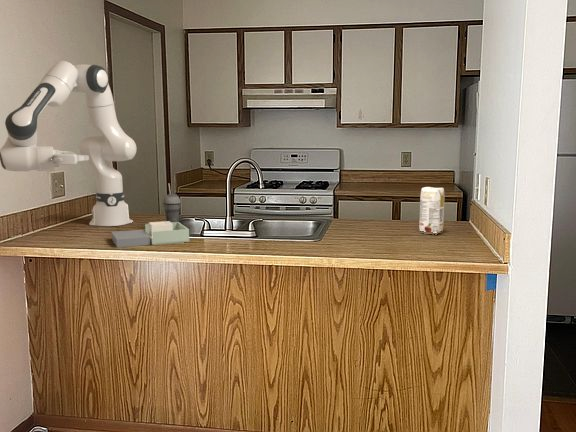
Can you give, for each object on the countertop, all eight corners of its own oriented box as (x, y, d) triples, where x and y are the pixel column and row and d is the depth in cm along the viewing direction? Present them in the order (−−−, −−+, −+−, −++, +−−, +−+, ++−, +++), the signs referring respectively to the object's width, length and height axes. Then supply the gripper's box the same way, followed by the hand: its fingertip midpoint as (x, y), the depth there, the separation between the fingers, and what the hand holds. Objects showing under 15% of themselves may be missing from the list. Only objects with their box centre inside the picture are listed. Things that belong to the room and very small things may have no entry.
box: (143, 236, 235) (143, 224, 234) (178, 234, 240) (178, 221, 240) (152, 245, 219) (151, 231, 218) (189, 242, 224) (188, 229, 223)
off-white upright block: (148, 222, 229) (169, 221, 232) (149, 237, 230) (169, 236, 233) (151, 224, 223) (172, 223, 226) (152, 240, 224) (172, 238, 227)
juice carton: (437, 236, 236) (439, 189, 233) (417, 233, 241) (418, 187, 238) (444, 233, 242) (446, 187, 239) (424, 231, 247) (426, 186, 244)
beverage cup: (177, 232, 244) (176, 184, 241) (161, 231, 246) (159, 183, 242) (184, 229, 251) (183, 182, 248) (168, 228, 253) (166, 182, 249)
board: (111, 239, 229) (111, 231, 229) (143, 237, 234) (142, 229, 233) (117, 247, 215) (116, 239, 214) (150, 244, 219) (149, 236, 219)
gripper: (48, 151, 204) (90, 150, 210) (47, 148, 223) (86, 148, 228) (49, 169, 205) (91, 168, 211) (48, 165, 224) (87, 164, 229)
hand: (88, 157), depth 220 cm, fingers closed
